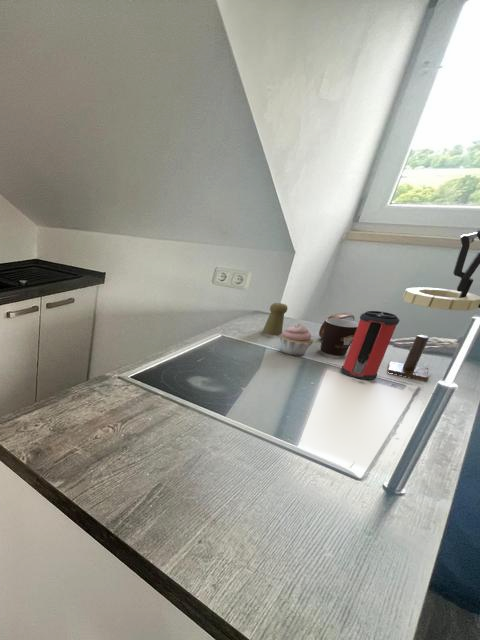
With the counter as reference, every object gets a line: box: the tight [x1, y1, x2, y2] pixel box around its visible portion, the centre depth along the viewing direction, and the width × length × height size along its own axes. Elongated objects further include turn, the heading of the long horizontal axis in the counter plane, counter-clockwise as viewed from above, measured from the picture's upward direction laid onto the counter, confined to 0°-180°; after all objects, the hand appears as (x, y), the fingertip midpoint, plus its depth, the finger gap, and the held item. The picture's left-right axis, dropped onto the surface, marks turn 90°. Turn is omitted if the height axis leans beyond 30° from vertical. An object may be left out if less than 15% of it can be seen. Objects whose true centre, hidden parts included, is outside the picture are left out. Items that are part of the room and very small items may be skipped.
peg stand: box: [387, 334, 430, 383], centre depth 109 cm, size 8×8×11 cm
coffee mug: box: [319, 318, 359, 357], centre depth 123 cm, size 12×9×10 cm
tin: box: [318, 312, 355, 338], centre depth 136 cm, size 15×3×8 cm, turn 114°
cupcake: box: [278, 322, 314, 356], centre depth 125 cm, size 9×9×10 cm
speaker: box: [340, 310, 400, 381], centre depth 107 cm, size 8×8×18 cm
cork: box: [262, 302, 289, 336], centre depth 141 cm, size 6×6×11 cm
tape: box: [402, 286, 480, 312], centre depth 102 cm, size 14×14×3 cm
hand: (468, 305), depth 99 cm, fingers closed on tape, 3 cm apart
